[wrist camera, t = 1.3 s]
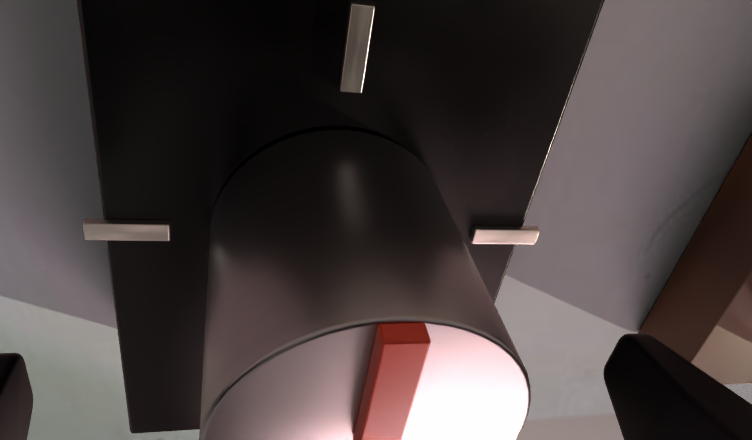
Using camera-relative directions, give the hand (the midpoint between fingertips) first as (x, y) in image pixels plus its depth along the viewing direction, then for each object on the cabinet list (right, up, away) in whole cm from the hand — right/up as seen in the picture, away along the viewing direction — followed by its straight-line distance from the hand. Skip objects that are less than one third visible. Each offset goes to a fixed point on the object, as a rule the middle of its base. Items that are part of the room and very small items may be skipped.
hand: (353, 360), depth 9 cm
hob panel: (-1, +4, +5) cm, 6 cm away
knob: (-1, +2, +2) cm, 3 cm away
